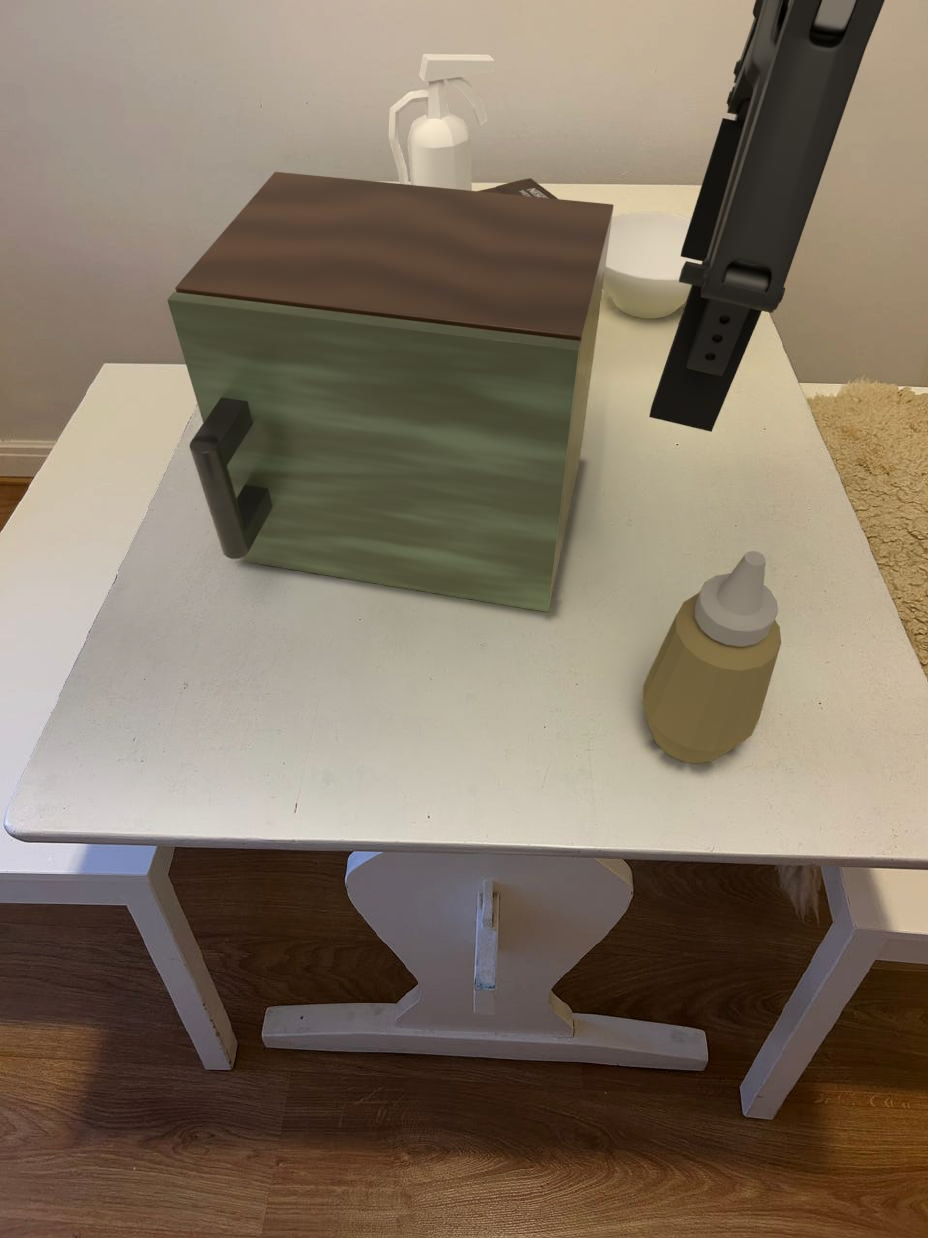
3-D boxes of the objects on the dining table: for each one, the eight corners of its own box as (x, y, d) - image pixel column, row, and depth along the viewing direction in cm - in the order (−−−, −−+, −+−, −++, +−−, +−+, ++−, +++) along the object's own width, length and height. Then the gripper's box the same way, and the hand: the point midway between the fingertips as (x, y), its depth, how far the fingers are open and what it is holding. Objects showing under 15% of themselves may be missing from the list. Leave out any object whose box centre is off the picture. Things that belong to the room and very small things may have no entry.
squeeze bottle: (737, 793, 58) (822, 629, 44) (622, 758, 60) (669, 589, 46) (753, 702, 63) (834, 528, 49) (646, 672, 64) (696, 496, 51)
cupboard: (550, 602, 69) (582, 335, 50) (249, 552, 73) (174, 287, 54) (579, 463, 80) (613, 203, 61) (317, 426, 84) (274, 171, 65)
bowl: (693, 352, 92) (707, 292, 87) (558, 319, 97) (563, 260, 91) (729, 285, 101) (744, 227, 96) (604, 257, 106) (611, 200, 100)
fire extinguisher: (383, 292, 100) (364, 50, 81) (481, 280, 102) (484, 40, 83) (393, 322, 96) (376, 74, 77) (495, 308, 98) (502, 63, 79)
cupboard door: (536, 670, 64) (564, 409, 46) (215, 613, 68) (121, 351, 50) (550, 603, 69) (581, 340, 50) (248, 553, 72) (173, 291, 54)
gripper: (1193, -252, 15) (762, 533, 32) (1009, -353, 30) (780, 221, 47) (785, -318, 16) (572, 486, 33) (801, -385, 31) (649, 193, 48)
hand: (694, 331), depth 40 cm, fingers open, 13 cm apart
